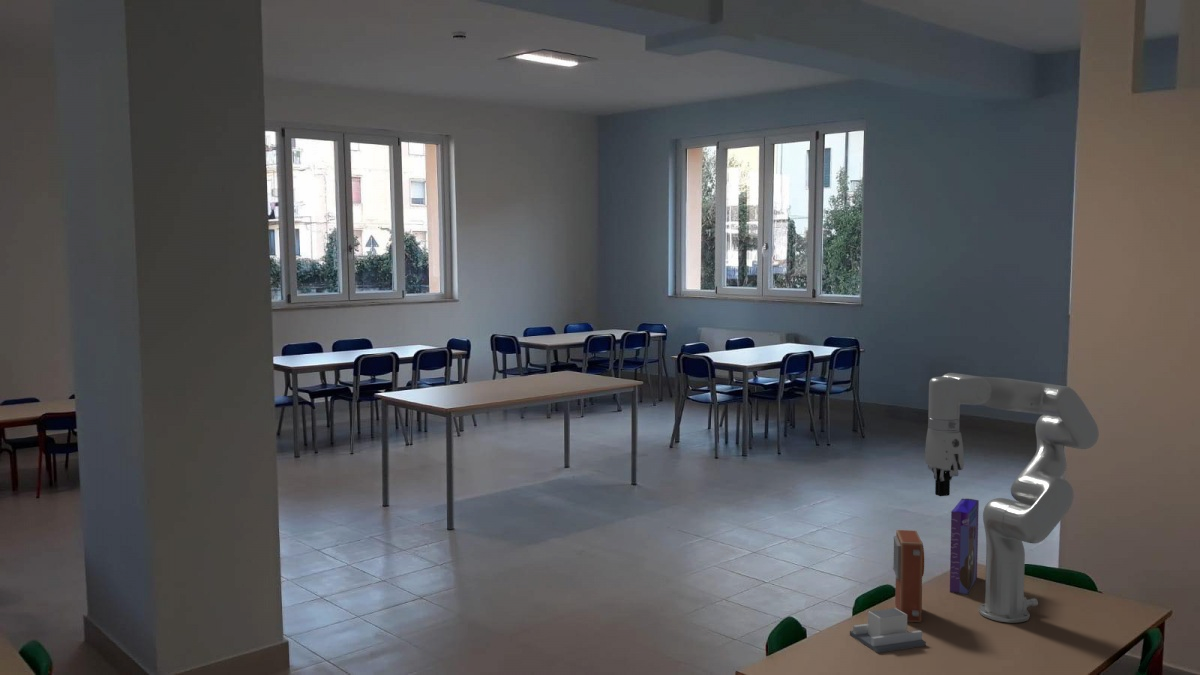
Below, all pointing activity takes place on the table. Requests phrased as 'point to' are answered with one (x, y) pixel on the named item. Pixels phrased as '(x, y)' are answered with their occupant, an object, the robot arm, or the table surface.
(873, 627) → the block
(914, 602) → the orange upright battery pack
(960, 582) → the cereal box
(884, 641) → the grey rail base plate
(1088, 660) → the table surface
